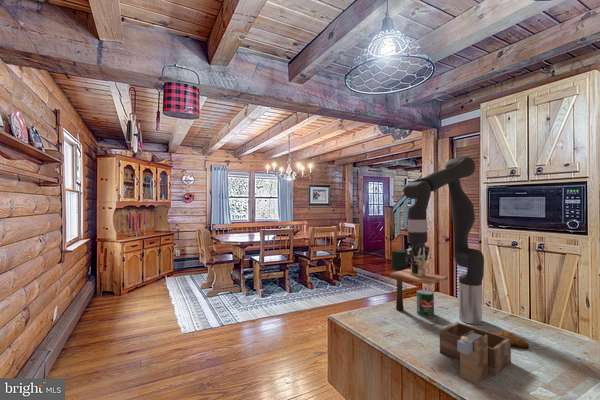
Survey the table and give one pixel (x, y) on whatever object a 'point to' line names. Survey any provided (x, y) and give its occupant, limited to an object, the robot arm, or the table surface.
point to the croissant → (513, 339)
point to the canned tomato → (425, 303)
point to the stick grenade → (399, 264)
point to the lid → (419, 275)
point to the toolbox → (476, 351)
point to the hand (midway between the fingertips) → (418, 272)
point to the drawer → (467, 343)
